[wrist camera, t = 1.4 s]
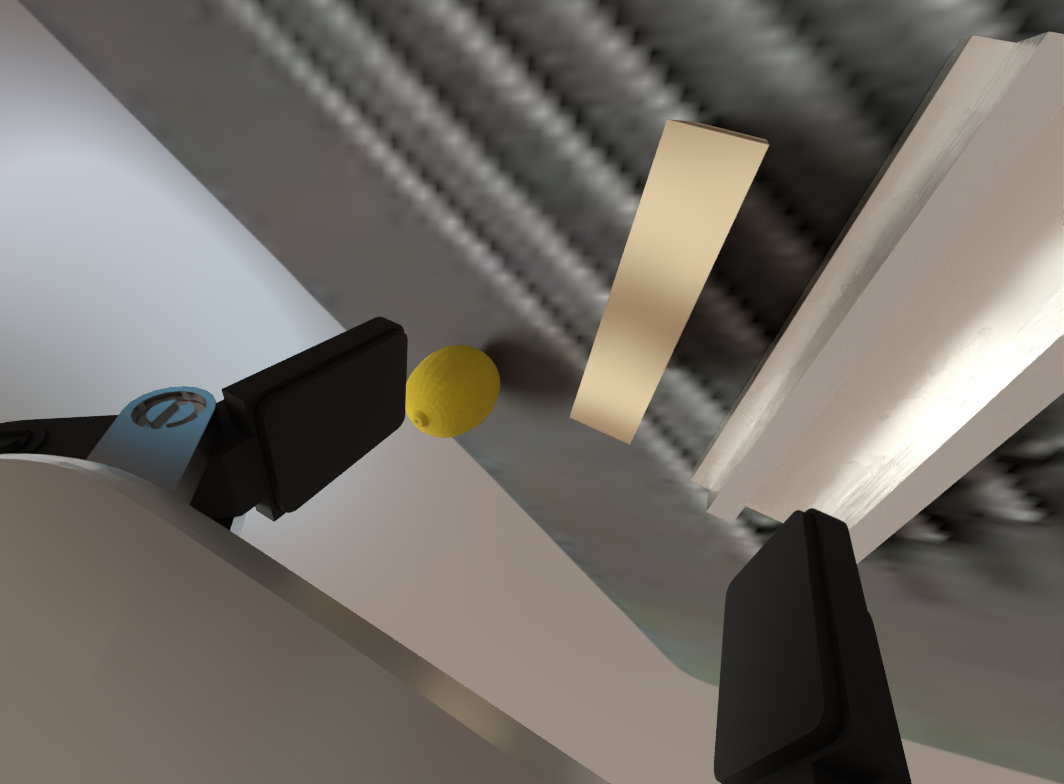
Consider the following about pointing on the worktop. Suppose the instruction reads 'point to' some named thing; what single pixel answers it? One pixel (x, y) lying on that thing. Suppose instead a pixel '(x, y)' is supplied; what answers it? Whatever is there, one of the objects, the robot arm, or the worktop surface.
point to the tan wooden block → (664, 268)
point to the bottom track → (917, 312)
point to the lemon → (452, 391)
